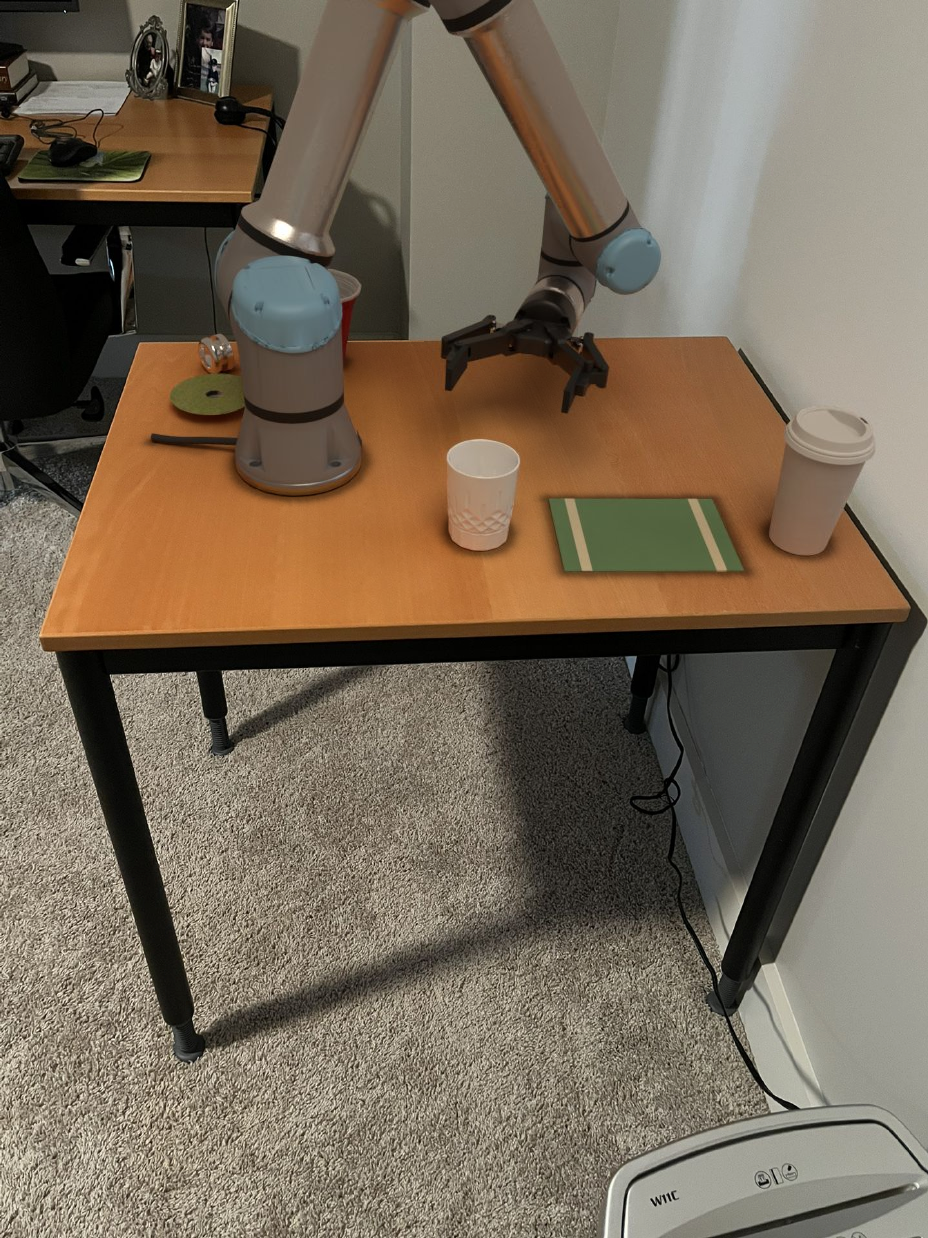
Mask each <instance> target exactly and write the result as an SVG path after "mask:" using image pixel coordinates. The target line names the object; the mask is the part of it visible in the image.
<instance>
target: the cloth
mask: <svg viewBox="0 0 928 1238" xmlns="http://www.w3.org/2000/svg"><path fill="white" fill-rule="evenodd" d="M548 504H549V510H550V513H551V518H552V521H553V522H552V523H553V527H554V532H555V537H556V541H557V545H558V549H559V554H560V559H561V563H562V568H563V572H564V573H675V572H676V573H698V572H699V573H705V572H706V573H712V572H713V573H715V572H716V573H717V572H719V573H723V572H724V573H725V572H726V573H727V572H729V573H730V572H732V573H733V572H734V573H736V572H737V573H739V572H742V573H743V572H744V571H745V570H744V567H743V564H742V562H741V560H740V558H739V555H738V554H737V551H736V549H735V547H734V544H733V542H732V540H731V537H730V535H729V533H728V531H727V529H726V526H725V525H724V522H723V520H722V517H721V515H720V513H719V510H718V509H717V506H716V504H715V501H714V499H713V498H548Z"/></svg>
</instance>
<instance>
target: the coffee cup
mask: <svg viewBox="0 0 928 1238" xmlns="http://www.w3.org/2000/svg"><path fill="white" fill-rule="evenodd" d="M782 432H783V435H782V437H783V439H784V441H785V445H784V451H783V455H782V456H783V457H782V461H781V468H780V472H779V478H778V482H777V488H776V493H775V494H776V495H775V499H774V503H773V509H772V514H771V520H770V525H769V530H768V537H769V539H770V541H771V542H772V543H773V544H774V545H775V546H776V547H777V548H778V549H780V550H782V551H784V552H787V553H789V554H793V555H797V556H815V555H818V554H820V553H822V552H824V551H825V549H826V547H827V545H828V543H829V542H830V539H831V536H832V535H833V532H834V530H835V528H836V526H837V523H838V522H839V519H840V517H841V515H842V513H843V511H844V509H845V507H846V504H847V502H848V501H849V498H850V496H851V494H852V493H853V490H854V487H855V485H856V483H857V480H858V479H859V476H860V474H861V473H862V471H863V468H864V466H865V464H866V463H867V461H869V460H870V459H872V458H873V457H874V455H875V453H876V438H875V436H874V428H873V426H872V425H871V423H870V422H869V420H867V419H866V418H865V417H863V416H862V415H861V414H858V413H856V412H854V411H851V410H849V409H846V408H842V407H838V406H832V405H812V406H808V407H804V408H802V409H801V410H799V411H798V412H797V414H796V415H795V416H794V417H793V418H791V419H790V421H789V422H787V424H786V426H785V428H783V431H782Z"/></svg>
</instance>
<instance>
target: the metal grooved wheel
mask: <svg viewBox="0 0 928 1238" xmlns="http://www.w3.org/2000/svg"><path fill="white" fill-rule="evenodd" d="M197 351H198V357H199V359H200V362H201V364H202V366H203V367H204V369H205V370H206V371H207V372H208V373H209V374H214V373H217V374H220V373H221V371H222V372H227V371H229V370H230V371H231V370H232V369H233V368H234V367H235V355H234V352H233V348H232V346H231V344H230V342H229V340H228V339H227V338H226V337H225V335H223V334H222V333H215V334H213V335H211V336H210V337H208V336H206V337H203V338H201V339H200V340H199V341H198V346H197Z"/></svg>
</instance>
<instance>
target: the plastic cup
mask: <svg viewBox="0 0 928 1238" xmlns="http://www.w3.org/2000/svg"><path fill="white" fill-rule="evenodd" d="M328 271H329V272H330V273H331V274H332V276H333V277H334V279H335V280H336V282H337V285H338V288H339V295H340V299H341V302H342V320H341V327H342V354H343V364H345V363H344V362H345V359H346V352H347V344H348V342H349V341H348V340H349V337H350V336H349V335H350V328H351V322H352V316H353V310H354V306H355V303H356V299H357V297H358V296H359V295H360V293H361V289H362V284H361V282H359V280H358V279H357V277H354V276H352V275H350V274H349V273H347V272H343V271H340V270H338V269H334V268H328Z"/></svg>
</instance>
